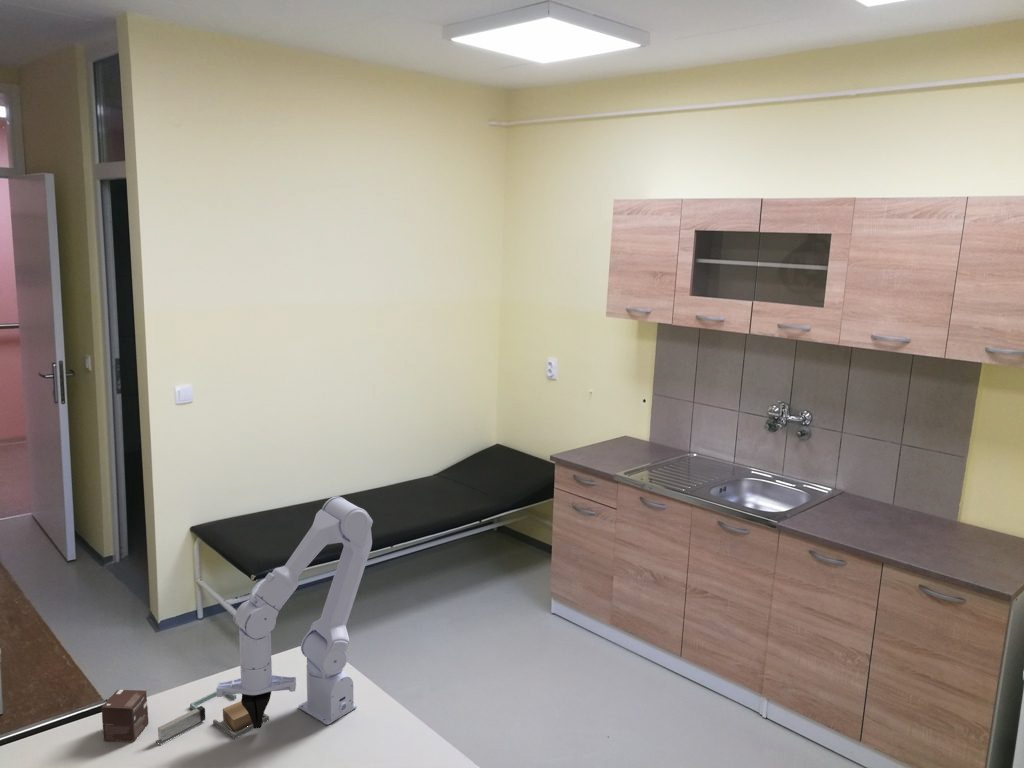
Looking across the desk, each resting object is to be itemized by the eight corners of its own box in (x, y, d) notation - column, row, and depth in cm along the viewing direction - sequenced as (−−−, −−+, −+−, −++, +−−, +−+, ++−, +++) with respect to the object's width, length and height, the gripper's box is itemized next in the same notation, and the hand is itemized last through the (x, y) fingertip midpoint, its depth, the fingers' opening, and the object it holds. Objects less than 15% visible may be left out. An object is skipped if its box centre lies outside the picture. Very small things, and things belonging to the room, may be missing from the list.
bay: (236, 698, 160) (236, 695, 160) (202, 715, 154) (202, 712, 153) (224, 690, 162) (224, 687, 162) (190, 707, 156) (190, 703, 156)
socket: (269, 719, 153) (268, 716, 153) (185, 766, 139) (185, 762, 139) (238, 699, 159) (238, 696, 159) (155, 742, 145) (155, 738, 145)
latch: (205, 719, 152) (204, 708, 151) (161, 741, 145) (161, 730, 144) (201, 716, 153) (201, 705, 152) (158, 739, 145) (157, 727, 145)
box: (133, 743, 145) (131, 708, 144) (102, 741, 145) (100, 707, 144) (149, 723, 151) (147, 690, 150) (119, 722, 151) (117, 688, 150)
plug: (258, 723, 152) (257, 709, 152) (234, 733, 149) (233, 720, 148) (247, 712, 156) (246, 698, 155) (223, 722, 152) (222, 708, 152)
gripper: (296, 648, 151) (298, 709, 154) (220, 653, 148) (222, 715, 151) (293, 667, 144) (294, 731, 147) (213, 673, 142) (216, 738, 144)
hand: (258, 725), depth 148 cm, fingers closed
